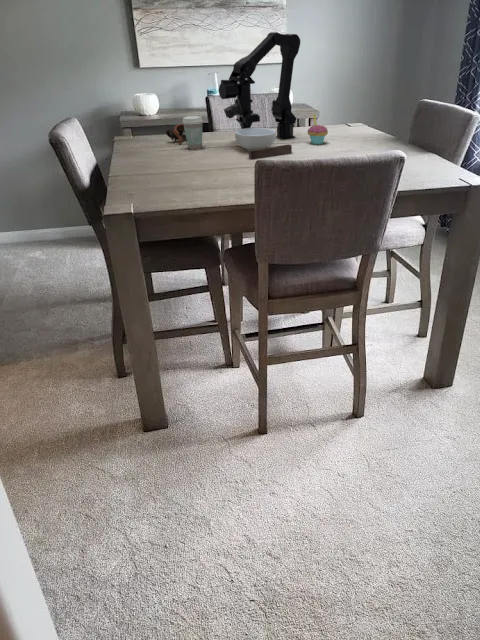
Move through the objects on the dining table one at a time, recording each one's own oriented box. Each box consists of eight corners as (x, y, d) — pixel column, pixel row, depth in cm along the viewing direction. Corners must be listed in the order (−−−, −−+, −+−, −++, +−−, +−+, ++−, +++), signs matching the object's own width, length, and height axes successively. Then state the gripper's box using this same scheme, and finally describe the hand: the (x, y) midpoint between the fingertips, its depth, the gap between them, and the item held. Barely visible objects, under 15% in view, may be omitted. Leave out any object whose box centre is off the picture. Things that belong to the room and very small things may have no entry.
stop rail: (289, 152, 200) (289, 144, 198) (291, 153, 198) (291, 145, 196) (248, 158, 193) (248, 150, 192) (250, 159, 192) (250, 151, 190)
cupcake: (304, 144, 210) (305, 113, 203) (310, 140, 216) (311, 110, 210) (324, 145, 207) (325, 114, 200) (329, 141, 214) (331, 111, 207)
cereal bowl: (262, 155, 196) (261, 136, 192) (228, 151, 203) (226, 133, 199) (283, 146, 208) (283, 128, 204) (250, 143, 215) (249, 125, 211)
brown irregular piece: (192, 140, 227) (194, 124, 220) (189, 153, 222) (191, 138, 215) (166, 133, 225) (167, 118, 218) (163, 147, 220) (163, 132, 213)
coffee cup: (188, 151, 207) (184, 119, 200) (183, 147, 213) (179, 116, 206) (207, 148, 209) (205, 117, 202) (202, 144, 216) (199, 114, 209)
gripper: (217, 95, 207) (219, 135, 216) (234, 101, 193) (236, 143, 202) (241, 93, 211) (243, 132, 220) (260, 99, 197) (260, 140, 206)
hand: (245, 137), depth 212 cm, fingers closed
